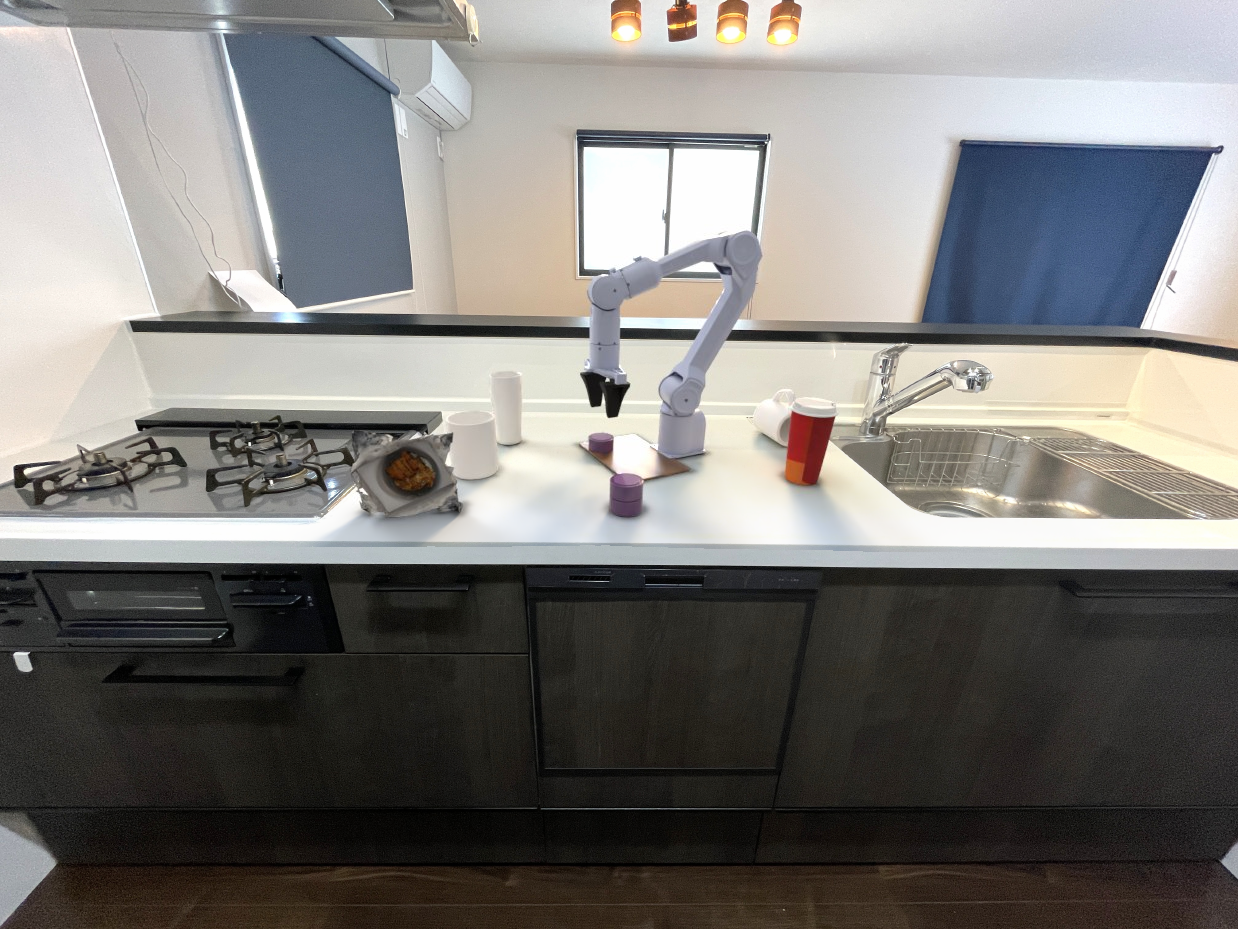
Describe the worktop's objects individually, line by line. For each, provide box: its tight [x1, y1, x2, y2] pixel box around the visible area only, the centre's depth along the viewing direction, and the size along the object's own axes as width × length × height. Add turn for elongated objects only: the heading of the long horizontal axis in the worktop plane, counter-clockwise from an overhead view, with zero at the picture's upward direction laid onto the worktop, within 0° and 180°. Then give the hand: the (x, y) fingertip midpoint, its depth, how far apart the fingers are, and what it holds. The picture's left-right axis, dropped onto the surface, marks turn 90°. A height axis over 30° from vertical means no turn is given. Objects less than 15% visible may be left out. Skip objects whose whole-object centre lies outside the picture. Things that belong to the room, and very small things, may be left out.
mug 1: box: [444, 409, 500, 481], centre depth 93 cm, size 9×12×11 cm
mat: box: [578, 433, 692, 482], centre depth 102 cm, size 14×22×1 cm, turn 28°
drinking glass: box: [488, 370, 524, 446], centre depth 105 cm, size 7×7×15 cm
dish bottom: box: [608, 495, 644, 518], centre depth 81 cm, size 5×5×3 cm
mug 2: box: [752, 388, 797, 447], centre depth 111 cm, size 8×10×12 cm
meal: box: [349, 429, 464, 519], centre depth 76 cm, size 15×4×13 cm, turn 98°
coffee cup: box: [784, 396, 839, 486], centre depth 91 cm, size 8×8×15 cm
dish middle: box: [609, 473, 644, 502], centre depth 79 cm, size 5×5×3 cm
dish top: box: [587, 432, 615, 453], centre depth 104 cm, size 5×5×3 cm
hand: (603, 411), depth 99 cm, fingers open, 7 cm apart
